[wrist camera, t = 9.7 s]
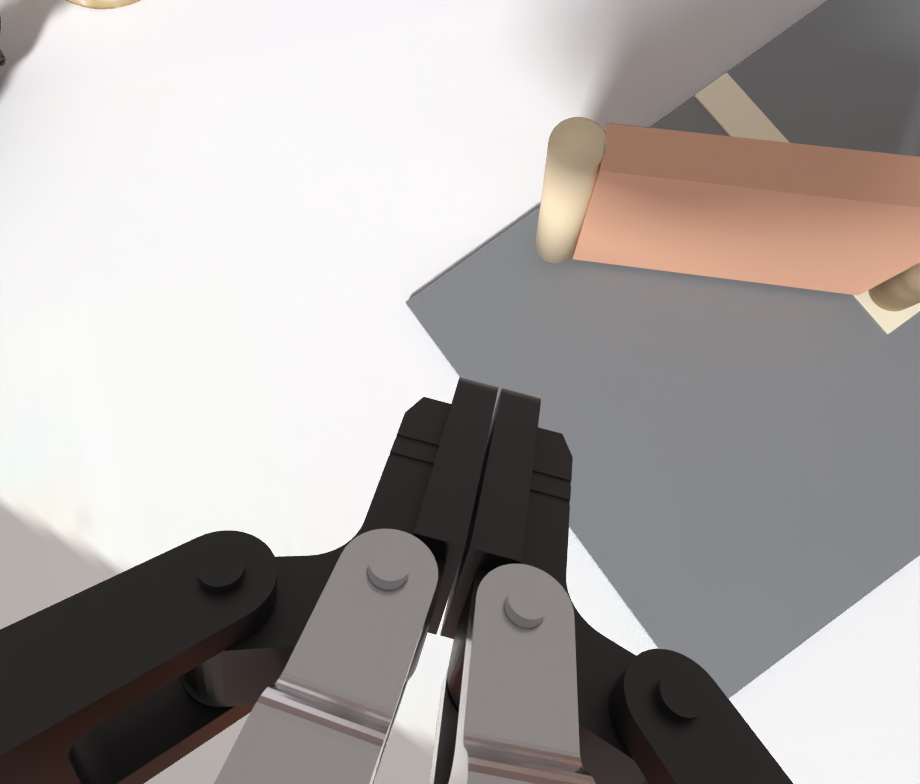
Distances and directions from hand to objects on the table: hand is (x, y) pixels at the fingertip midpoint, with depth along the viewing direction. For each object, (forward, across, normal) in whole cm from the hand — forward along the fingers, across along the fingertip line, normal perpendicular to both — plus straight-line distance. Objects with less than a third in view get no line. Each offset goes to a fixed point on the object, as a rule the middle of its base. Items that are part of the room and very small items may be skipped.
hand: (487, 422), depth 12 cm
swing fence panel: (+18, -7, +4) cm, 20 cm away
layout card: (+18, -13, +4) cm, 22 cm away
